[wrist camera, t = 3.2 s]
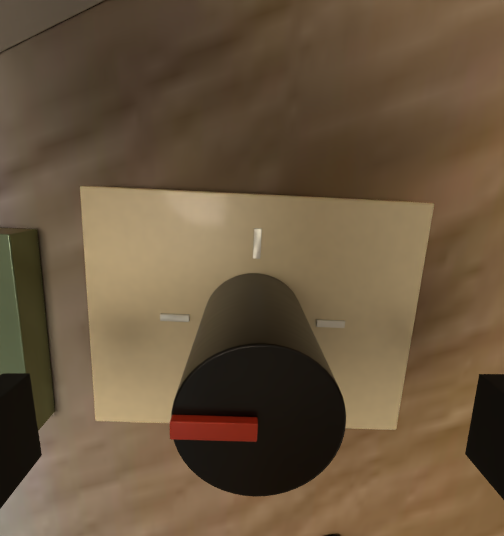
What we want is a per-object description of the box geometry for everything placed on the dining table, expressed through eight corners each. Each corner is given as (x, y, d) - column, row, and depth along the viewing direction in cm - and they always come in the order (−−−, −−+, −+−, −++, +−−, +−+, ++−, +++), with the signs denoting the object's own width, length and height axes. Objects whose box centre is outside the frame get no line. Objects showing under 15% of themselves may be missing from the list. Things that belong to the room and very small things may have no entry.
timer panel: (408, 201, 18) (436, 203, 15) (378, 401, 21) (397, 432, 18) (102, 186, 17) (77, 185, 15) (113, 393, 20) (93, 423, 17)
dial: (306, 274, 16) (361, 353, 8) (298, 366, 17) (340, 509, 9) (204, 270, 16) (167, 346, 8) (203, 363, 17) (168, 505, 9)
